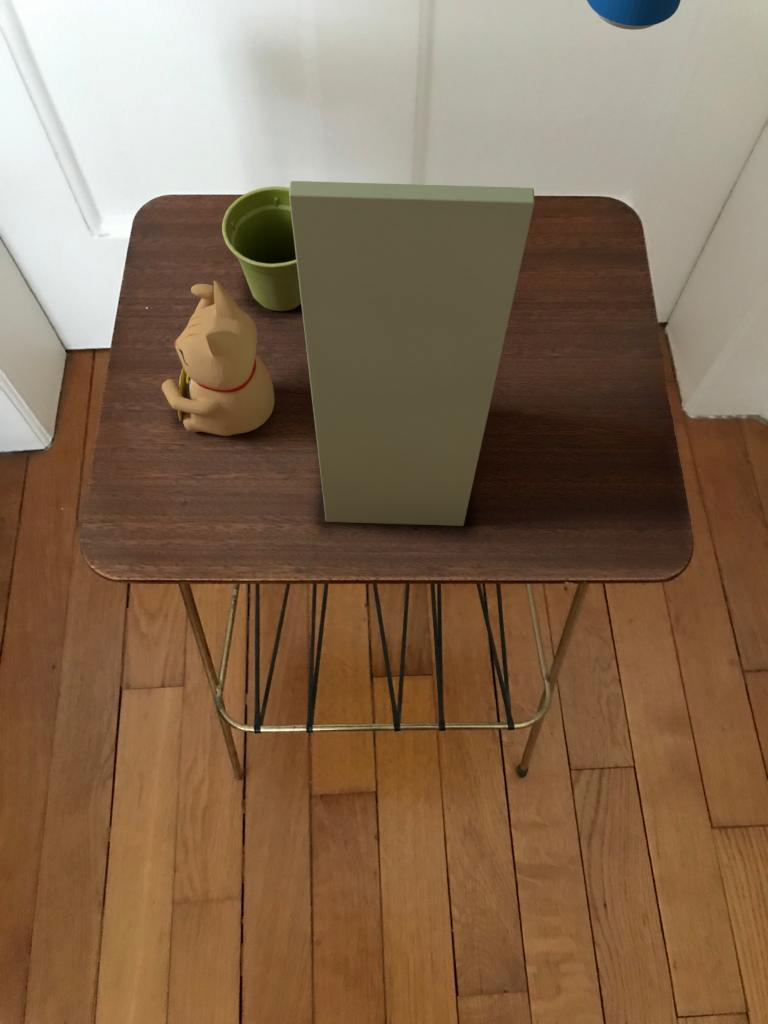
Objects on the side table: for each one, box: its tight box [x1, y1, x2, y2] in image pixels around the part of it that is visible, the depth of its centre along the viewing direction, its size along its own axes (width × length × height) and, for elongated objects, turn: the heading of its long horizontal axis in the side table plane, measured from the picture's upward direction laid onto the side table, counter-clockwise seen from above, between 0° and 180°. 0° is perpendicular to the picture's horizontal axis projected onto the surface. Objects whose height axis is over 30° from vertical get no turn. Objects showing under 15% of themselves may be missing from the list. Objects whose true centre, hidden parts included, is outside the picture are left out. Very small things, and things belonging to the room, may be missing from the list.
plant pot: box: [221, 185, 301, 312], centre depth 85 cm, size 9×9×9 cm
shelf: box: [289, 180, 536, 527], centre depth 64 cm, size 12×12×38 cm
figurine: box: [161, 280, 276, 437], centre depth 76 cm, size 9×10×15 cm
